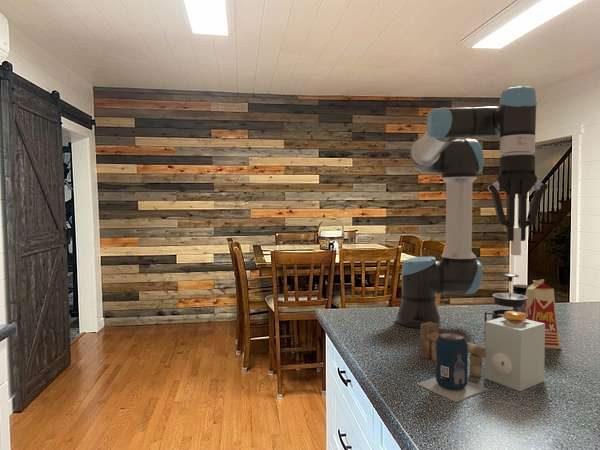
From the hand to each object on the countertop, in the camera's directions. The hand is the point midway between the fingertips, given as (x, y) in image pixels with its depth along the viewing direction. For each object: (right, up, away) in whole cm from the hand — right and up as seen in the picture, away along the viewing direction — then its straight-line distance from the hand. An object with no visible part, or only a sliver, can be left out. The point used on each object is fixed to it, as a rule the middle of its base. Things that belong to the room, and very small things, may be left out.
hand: (515, 254), depth 103 cm
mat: (-16, -31, -2) cm, 35 cm away
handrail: (-11, -30, +11) cm, 34 cm away
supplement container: (+34, -27, +64) cm, 77 cm away
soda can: (-16, -31, -2) cm, 35 cm away
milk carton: (+21, -29, +28) cm, 46 cm away
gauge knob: (0, -21, +1) cm, 22 cm away
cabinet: (-1, -30, +1) cm, 30 cm away
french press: (+7, -30, +18) cm, 35 cm away
